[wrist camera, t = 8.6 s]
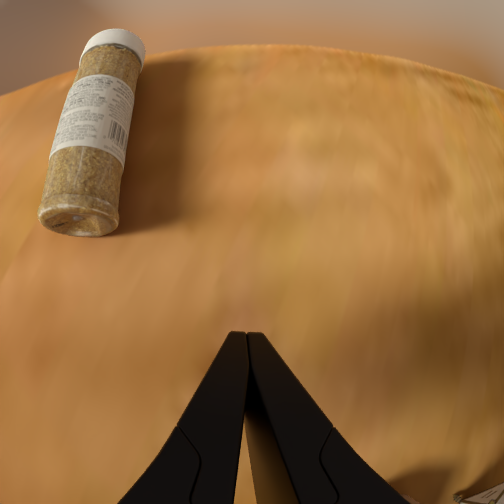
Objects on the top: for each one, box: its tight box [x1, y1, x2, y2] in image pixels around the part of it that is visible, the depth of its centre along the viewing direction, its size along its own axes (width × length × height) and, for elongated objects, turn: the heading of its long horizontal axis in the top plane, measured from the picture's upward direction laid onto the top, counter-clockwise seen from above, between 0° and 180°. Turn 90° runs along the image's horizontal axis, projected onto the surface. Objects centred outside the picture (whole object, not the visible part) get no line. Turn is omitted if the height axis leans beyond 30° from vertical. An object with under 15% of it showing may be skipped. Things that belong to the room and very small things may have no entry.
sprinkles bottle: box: [38, 29, 145, 237], centre depth 16 cm, size 5×5×13 cm
